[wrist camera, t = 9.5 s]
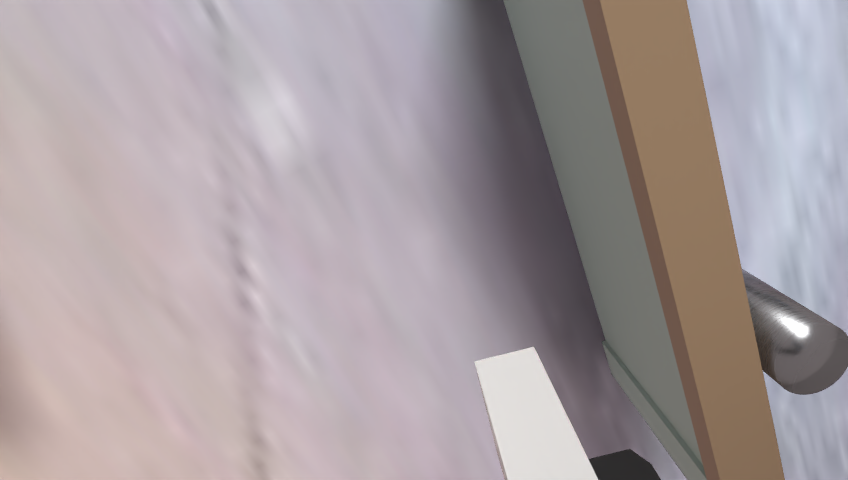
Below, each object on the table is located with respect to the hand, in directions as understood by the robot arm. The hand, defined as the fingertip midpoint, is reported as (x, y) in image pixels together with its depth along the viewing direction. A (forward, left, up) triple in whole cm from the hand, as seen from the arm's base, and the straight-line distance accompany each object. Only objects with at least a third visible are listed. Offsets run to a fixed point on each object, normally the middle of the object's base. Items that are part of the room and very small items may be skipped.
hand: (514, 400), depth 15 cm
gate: (-6, -1, -13) cm, 15 cm away
